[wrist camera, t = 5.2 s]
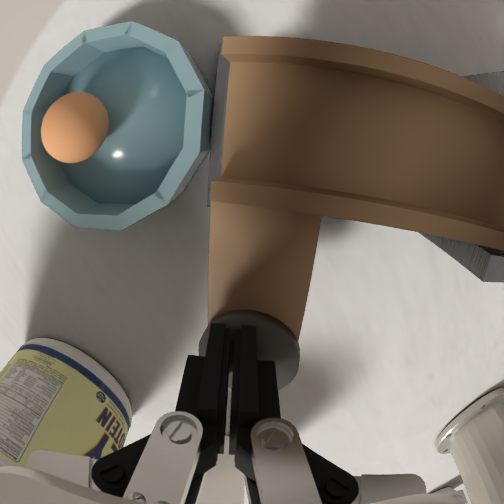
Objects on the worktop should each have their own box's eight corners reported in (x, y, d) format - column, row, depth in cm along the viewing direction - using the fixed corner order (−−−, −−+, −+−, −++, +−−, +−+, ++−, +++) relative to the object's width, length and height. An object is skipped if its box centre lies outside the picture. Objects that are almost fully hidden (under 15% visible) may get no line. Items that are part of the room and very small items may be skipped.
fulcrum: (534, 140, 13) (611, 161, 5) (516, 243, 16) (584, 290, 8) (221, 47, 12) (189, -31, 5) (209, 204, 15) (167, 273, 8)
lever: (609, 185, 5) (642, 199, 3) (539, 377, 10) (557, 408, 8) (225, 54, 9) (191, 24, 6) (210, 359, 14) (187, 408, 11)
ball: (29, 97, 9) (73, 98, 12) (27, 169, 10) (71, 159, 14) (81, 83, 9) (124, 90, 12) (77, 167, 10) (121, 158, 13)
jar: (223, 419, 22) (212, 547, 11) (262, 457, 25) (264, 557, 14) (145, 432, 24) (118, 534, 13) (190, 467, 26) (178, 555, 15)
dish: (220, 35, 12) (213, 14, 9) (206, 217, 16) (196, 235, 13) (60, 55, 12) (31, 48, 9) (56, 210, 15) (27, 224, 12)
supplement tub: (142, 435, 24) (106, 576, 8) (44, 401, 23) (-12, 513, 8) (128, 353, 19) (46, 563, 4) (10, 314, 19) (-93, 445, 3)
